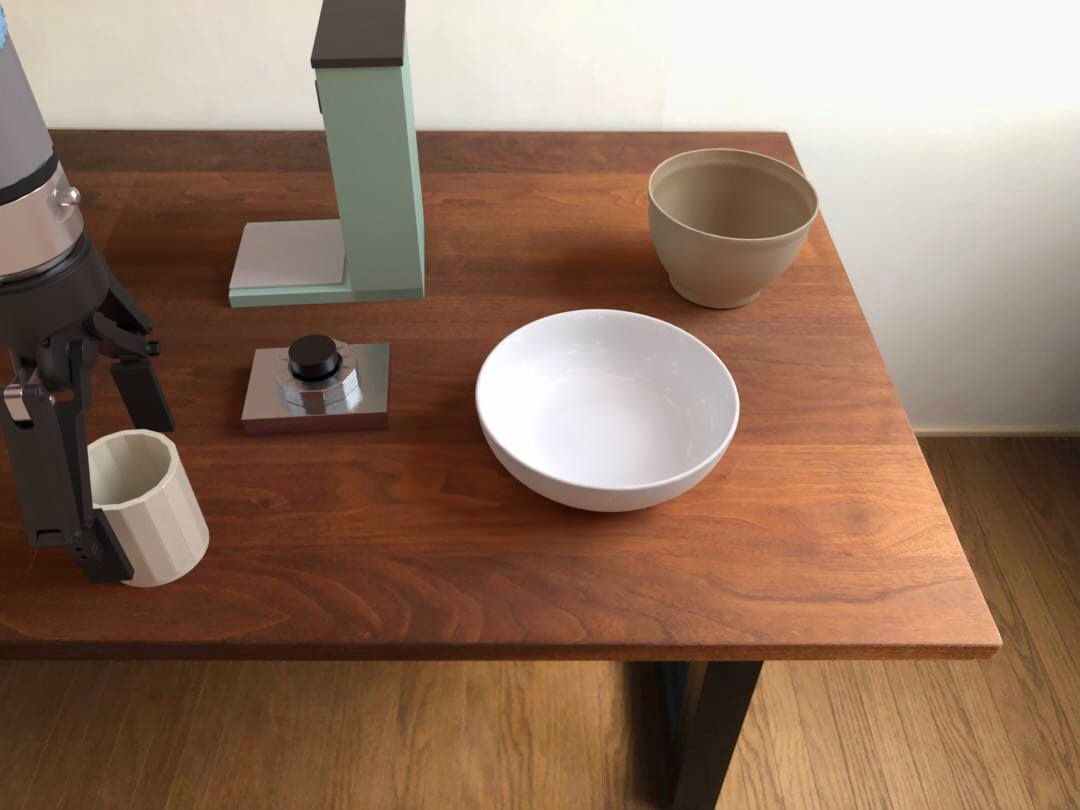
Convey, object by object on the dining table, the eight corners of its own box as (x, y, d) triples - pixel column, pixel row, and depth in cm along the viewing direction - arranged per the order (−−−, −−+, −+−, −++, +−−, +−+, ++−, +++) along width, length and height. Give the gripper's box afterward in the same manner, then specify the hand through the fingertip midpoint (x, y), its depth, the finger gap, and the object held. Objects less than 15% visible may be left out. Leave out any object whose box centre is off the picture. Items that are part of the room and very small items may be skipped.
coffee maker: (231, 309, 88) (159, 63, 71) (250, 233, 98) (190, -1, 80) (426, 300, 90) (402, 56, 72) (426, 226, 99) (405, -5, 82)
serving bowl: (752, 540, 69) (769, 482, 64) (481, 553, 68) (477, 495, 63) (699, 360, 84) (710, 302, 79) (476, 369, 82) (473, 310, 78)
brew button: (289, 384, 75) (285, 366, 74) (294, 353, 78) (290, 335, 77) (337, 381, 76) (334, 363, 74) (341, 350, 79) (337, 332, 77)
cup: (96, 591, 65) (49, 513, 59) (120, 511, 70) (80, 432, 64) (200, 584, 65) (165, 506, 59) (217, 505, 71) (186, 426, 64)
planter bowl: (647, 333, 86) (659, 238, 79) (630, 238, 98) (639, 147, 90) (811, 332, 87) (839, 238, 79) (776, 238, 98) (797, 147, 91)
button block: (246, 437, 76) (236, 404, 73) (260, 366, 82) (251, 333, 80) (389, 429, 77) (383, 396, 74) (391, 360, 83) (387, 326, 80)
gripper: (10, 399, 40) (151, 649, 55) (138, 134, 58) (219, 376, 73) (-166, 409, 39) (25, 659, 54) (18, 138, 57) (124, 382, 72)
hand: (136, 497), depth 63 cm, fingers open, 13 cm apart
